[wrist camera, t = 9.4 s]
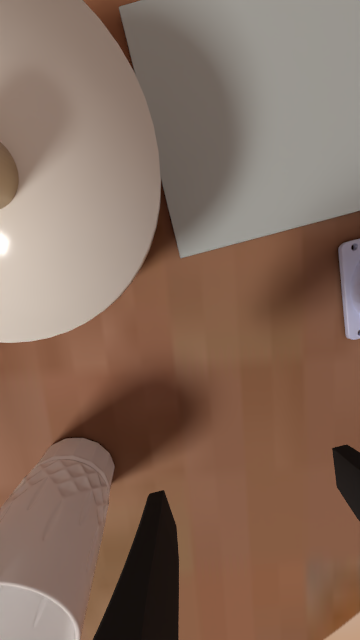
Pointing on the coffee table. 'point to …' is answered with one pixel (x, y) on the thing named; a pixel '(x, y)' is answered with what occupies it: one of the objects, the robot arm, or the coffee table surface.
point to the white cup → (53, 542)
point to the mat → (250, 112)
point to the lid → (69, 169)
